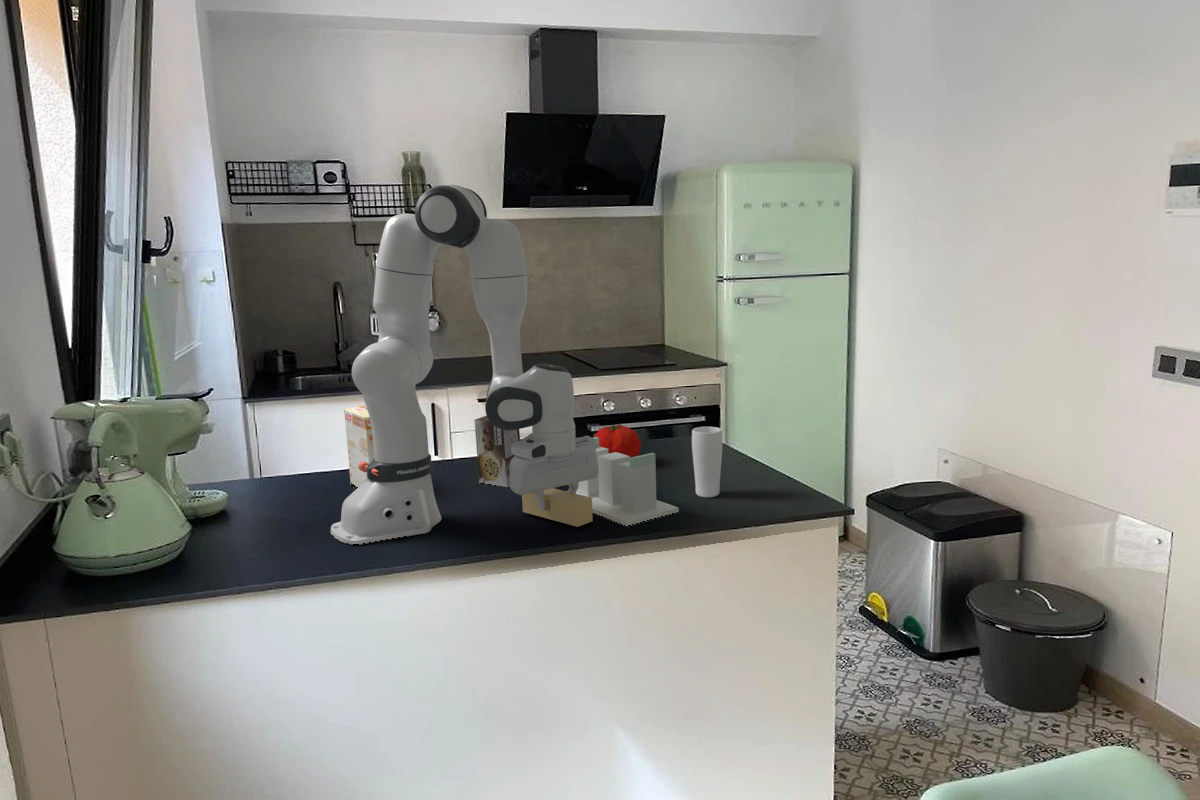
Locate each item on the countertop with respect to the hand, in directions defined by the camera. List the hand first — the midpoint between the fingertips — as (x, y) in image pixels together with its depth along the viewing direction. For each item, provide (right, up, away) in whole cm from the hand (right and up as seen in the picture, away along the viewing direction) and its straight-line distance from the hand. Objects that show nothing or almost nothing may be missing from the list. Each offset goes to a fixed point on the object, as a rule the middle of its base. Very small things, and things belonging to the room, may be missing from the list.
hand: (556, 506), depth 180 cm
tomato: (+13, +5, +41) cm, 44 cm away
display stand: (+12, -1, +9) cm, 15 cm away
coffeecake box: (-45, 0, +27) cm, 52 cm away
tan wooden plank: (0, -2, 0) cm, 2 cm away
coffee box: (-15, +2, +30) cm, 33 cm away
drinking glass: (+33, +1, +14) cm, 36 cm away
